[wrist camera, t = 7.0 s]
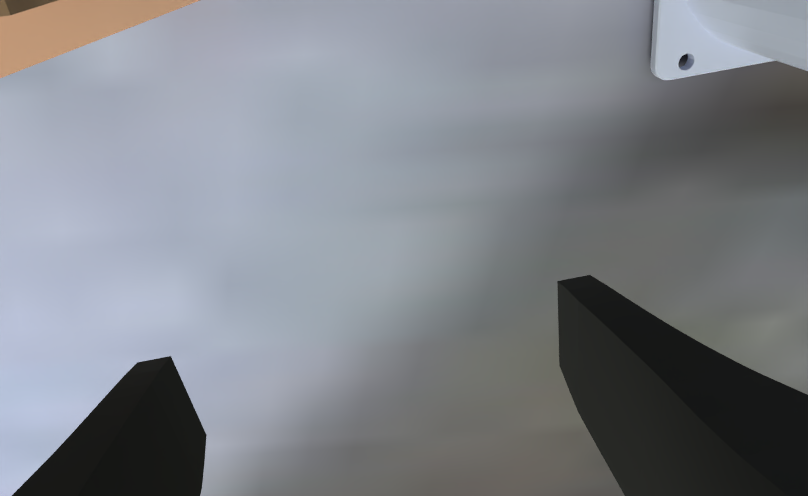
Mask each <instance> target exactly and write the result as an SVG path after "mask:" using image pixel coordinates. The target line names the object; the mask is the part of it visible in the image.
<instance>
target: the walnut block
mask: <svg viewBox="0 0 808 496" xmlns="http://www.w3.org/2000/svg"><path fill="white" fill-rule="evenodd" d="M55 1H58V0H0V17H2V16H9V15H13V14H17V13H20V12H23V11H26V10H29V9H32V8H36V7H39V6H42V5H45V4H48V3H51V2H55Z"/></svg>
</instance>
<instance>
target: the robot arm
mask: <svg viewBox="0 0 808 496" xmlns="http://www.w3.org/2000/svg"><path fill="white" fill-rule="evenodd" d="M685 54H688V60H687V62H686V63H685V65H684V66H682V67H680V68H679V65H678V63H679V60H680V58H681V57H682V56H683V55H685ZM775 60H776V61H779V62H782V63H785V64H788V65H791V66H794V67H797V68H800V69H803V70H806V71H808V0H654V14H653V32H652V49H651V71H652V73H653V74H654V75H655V76H657V77H658V78H660V79H662V80H673V79H678V78H683V77H689V76H694V75H700V74H705V73H710V72H716V71H721V70H727V69H732V68H738V67H743V66H748V65H754V64H759V63H765V62H770V61H775ZM558 319H559V361H560V368H561V370H562V373H563V375H564V378H565V380H566V383H567V385H568V388H569V391H570V393H571V395H572V398H573V400H574V403H575V405H576V407H577V410H578V412H579V414H580V416H581V418H582V420H583V421H584V423H585V425H586V427H587V429H588V431H589V432H590V434H591V436H592V438H593V440H594V441H595V443H596V445H597V447H598V449H599V450H600V452H601V454H602V456H603V457H604V459H605V461H606V463H607V465H608V466H609V468H610V470H611V472H612V473H613V475H614V477H615V479H616V481H617V482H618V484H619V486H620V488H621V489H622V491H623V493H624V495H625V496H808V395H807V394H804V393H802V392H800V391H798V390H795V389H793V388H791V387H789V386H786V385H784V384H782V383H780V382H777V381H775V380H773V379H771V378H769V377H766V376H764V375H762V374H760V373H758V372H756V371H753V370H751V369H749V368H747V367H745V366H743V365H741V364H739V363H737V362H735V361H733V360H732V359H730V358H728V357H726V356H724V355H722V354H720V353H718V352H716V351H715V350H713V349H711V348H709V347H707V346H705V345H703V344H701V343H700V342H698V341H696V340H694V339H693V338H691V337H689V336H687V335H686V334H684V333H682V332H680V331H679V330H677V329H675V328H674V327H672V326H670V325H669V324H667V323H665V322H664V321H662V320H660V319H659V318H657V317H656V316H654V315H652V314H651V313H649V312H647V311H646V310H644V309H643V308H641V307H640V306H638V305H636V304H635V303H633V302H632V301H630V300H629V299H627V298H625V297H624V296H622V295H621V294H619V293H618V292H616V291H615V290H613V289H611V288H610V287H608V286H607V285H605V284H604V283H602V282H600V281H599V280H597V279H596V278H594V277H592V276H591V275H587V276H582V277H577V278H572V279H567V280H562V281H558ZM205 446H206V433H205V431H204V429H203V427H202V425H201V422H200V420H199V418H198V416H197V413H196V411H195V409H194V407H193V405H192V402H191V400H190V398H189V396H188V393H187V391H186V389H185V387H184V385H183V382H182V380H181V378H180V376H179V374H178V371H177V369H176V367H175V365H174V362H173V360H172V358H171V356H169V357H164V358H159V359H154V360H149V361H143V362H138V363H137V364H136V365H135V366H134V367H133V368H132V369H131V370H130V371H129V372H128V373H127V374H126V375H125V376H124V377H123V378H122V379H121V380H120V381H119V382H118V383H117V384H116V386H115V387H114V388H113V389H112V390H111V391H110V392H109V393H108V394H107V395H106V397H105V398H104V399H103V400H102V401H101V402H100V403H99V404H98V405H97V407H96V408H95V409H94V410H93V411H92V412H91V413H90V414H89V415H88V417H87V418H86V419H85V420H84V421H83V422H82V423H81V424H80V425H79V426H78V427H77V429H76V430H75V431H74V432H73V433H72V434H71V435H70V436H69V437H68V438H67V439H66V441H65V442H64V443H63V444H62V445H61V446H60V447H59V448H58V449H57V450H56V451H55V452H54V454H53V455H52V456H51V457H50V458H49V459H48V460H47V461H46V462H45V463H44V464H43V465H42V466H41V467H40V468H39V469H38V470H37V471H36V472H35V473H34V474H33V475H32V476H31V477H30V478H29V479H28V480H27V481H26V482H25V483H24V484H23V485H22V486H21V487H20V488H19V489H18V490H17V491H16V492H15V493H14V494H13V495H12V496H200V493H201V489H202V480H203V470H204V459H205Z"/></svg>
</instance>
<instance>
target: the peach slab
mask: <svg viewBox="0 0 808 496" xmlns="http://www.w3.org/2000/svg"><path fill="white" fill-rule="evenodd" d="M197 1H199V0H58V1H55V2H51V3H48V4H45V5H42V6H39V7H36V8H32V9H29V10H26V11H23V12H20V13H17V14H13V15H9V16H2V17H0V78H2V77H4V76H7V75H10V74H12V73H15V72H17V71H20V70H22V69H25V68H27V67H30V66H33V65H35V64H38V63H40V62H43V61H45V60H48V59H51V58H53V57H56V56H58V55H61V54H63V53H66V52H69V51H71V50H74V49H76V48H79V47H81V46H84V45H86V44H89V43H92V42H94V41H97V40H99V39H102V38H104V37H107V36H110V35H112V34H115V33H117V32H120V31H122V30H125V29H128V28H130V27H133V26H135V25H138V24H140V23H143V22H146V21H148V20H151V19H153V18H156V17H158V16H161V15H163V14H166V13H169V12H171V11H174V10H176V9H179V8H181V7H184V6H187V5H189V4H192V3H194V2H197Z"/></svg>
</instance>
